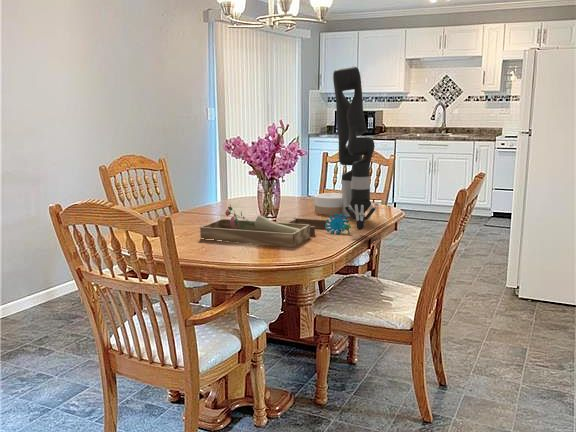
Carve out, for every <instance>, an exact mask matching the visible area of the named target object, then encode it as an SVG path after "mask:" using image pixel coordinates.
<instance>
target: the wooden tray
mask: <svg viewBox="0 0 576 432" xmlns="http://www.w3.org/2000/svg"><path fill="white" fill-rule="evenodd" d="M230 220H231V218H230V219H228V218H221V219H217V220H215V221H213V222H209V223H206V224H204V225H202V226H200V227H199V229H200V230H199V231H200V233H199V234H200V239H201V238H204V239H214V240H222V241H221V242H223V241H229V242H228V243H235V242H239V244H247V243H252V244H251V245H259V244H262V245H263V246H271V247H287V248H293V247H296V246H299V245H300V244H302V243H303V242H305V241H306V240H308V239H310V238H311V235H310V225H308V224H293V223H286V222H275V221H274V222H275V223H278V224H281V225H285V226H289V227H293V228H298V229H299V230H298V231H296V232H294V233H278V232H274V231H267V230H259V229H256V227H255V224H253V225H254V226H253V225H252V226H250V223H251V222H252V223H254V222H255V221H256V220H248V221H246V220H247V219H246V220H244V219H242V220H241V219H238V220H239V224H238V225H237V227H236V228H233V227H231V225H230ZM243 220H244V221H243ZM245 221H246V222H249V221H250V223H244V222H245ZM241 225H244V227H242V228H240V226H241ZM249 226H250V227H249ZM251 227H252V228H251ZM239 228H240V229H239ZM248 228H250V229H249V230H246V229H248Z"/></svg>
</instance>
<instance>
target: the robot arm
mask: <svg viewBox="0 0 576 432" xmlns="http://www.w3.org/2000/svg"><path fill="white" fill-rule="evenodd" d="M332 75H333V76H332V79H333V80H332V81H333V88H334V95H335V106H336V125H337V133H338V134H337V135H338V136H337V137H338V161H339V164H340V165H342V166H351V170H349V171H347V172H344V173H342V174H341V193H342V214H343V217H344V216H346V217H347V218H351V219H352V220H355V221H356V228H357V230H358V231H362V230H363V229H364V228H365V221H367V220H369V219H370V217H371V216H372V215H373V213H374V212H375V211H376V210H377V207H376V206H373V204H372V202H371V178H370V176H371V175H370V173H371V172H370V171H371V170H370V169H371V168H370V167H371V162H372V157H373V154H374V151H375V141H374V139H373V138H371V137H368V136H363V137H362V135H363V134H365V133H366V132H367V124H366V119H365V113H364V106H363V105H364V103H363V100H364V99H363V89H362V78H361V72H360V69H359V68H358V67H357V66H347V67H342V68H336V69H335V70H333V74H332ZM353 90H354V93H353V97H352V101H351V102H350V101H349V100H348V99H347V98H346V96H345V94H344V93H343V92H345V91H353ZM357 136H358V137H357ZM368 210H369V212H368ZM366 212H368V213H366Z"/></svg>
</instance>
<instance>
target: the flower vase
mask: <svg viewBox="0 0 576 432" xmlns="http://www.w3.org/2000/svg"><path fill="white" fill-rule="evenodd" d="M227 208H228V209H226V211H225V212H224V214H225V216H226V217H230V215H231V214H232V215H233V216H232V217H231V218H230V219H231V220H230V225H231V227H233V228H236V227H237V225H238V224H239V220H243V221H244V220H246V221H249V222H246V221H245V222H244V223H250V221H251V220H249V219H247V218H246V217H245V216H243V213H242V212H243V211H242V210H241V211H240V215H237V214H236V213H232V212H231V211H233V212H235V210H234V209H233V207H232V206H231V204H229V206H228V207H227ZM238 218H240V219H238ZM254 221H255V222H254V223H252V222H251V223H250V226H252V225H253V224H255V227H256V229H259V230H267V231H274V232H278V233H294V232H296V231H298V230H299V229H298V228H293V227H289V226H285V225H281V224H278V223H279V222H277V223H275V221H274V220H271V219H270V218H268V217H266V216H263V215H261V214H258V215H257V217H256V219H255V220H254ZM250 226H249V227H250ZM253 226H254V225H253ZM242 227H244V225H241V226H240V228H242ZM240 228H239V229H240ZM251 228H252V227H251ZM249 229H250V228H248V229H246V230H249Z"/></svg>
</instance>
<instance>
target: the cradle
mask: <svg viewBox="0 0 576 432" xmlns="http://www.w3.org/2000/svg"><path fill="white" fill-rule="evenodd" d="M326 220H327V219H319V218H318V219H317V218H304V217H293V218H292V219H289V220H288V221H286V222H285V223H293V224H308V225H310V236H315V235H316V229H327V228H326V227H325V224H327V223H326Z"/></svg>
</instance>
